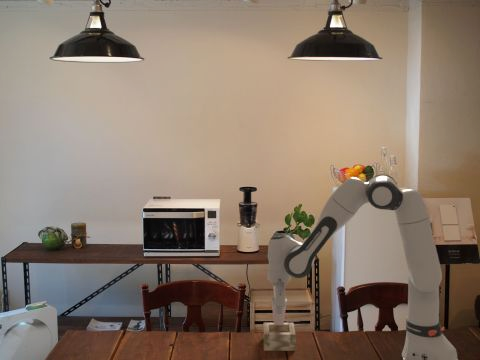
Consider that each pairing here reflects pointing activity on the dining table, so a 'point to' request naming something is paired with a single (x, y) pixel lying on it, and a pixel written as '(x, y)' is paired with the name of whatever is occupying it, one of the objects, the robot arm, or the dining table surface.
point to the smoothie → (277, 317)
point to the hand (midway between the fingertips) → (279, 310)
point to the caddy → (279, 337)
